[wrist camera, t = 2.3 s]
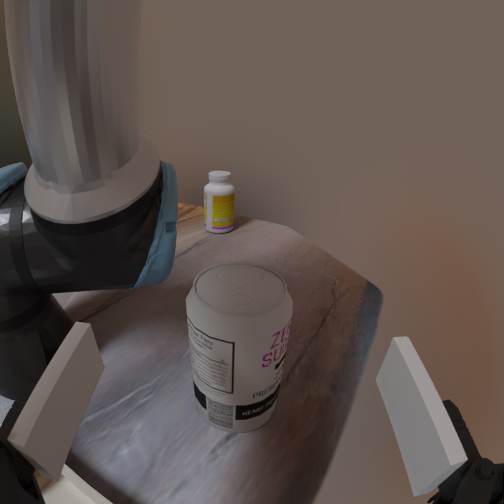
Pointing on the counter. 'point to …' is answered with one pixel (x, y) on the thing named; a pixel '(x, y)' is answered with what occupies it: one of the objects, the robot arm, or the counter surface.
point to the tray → (71, 490)
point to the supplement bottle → (219, 203)
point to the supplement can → (238, 343)
